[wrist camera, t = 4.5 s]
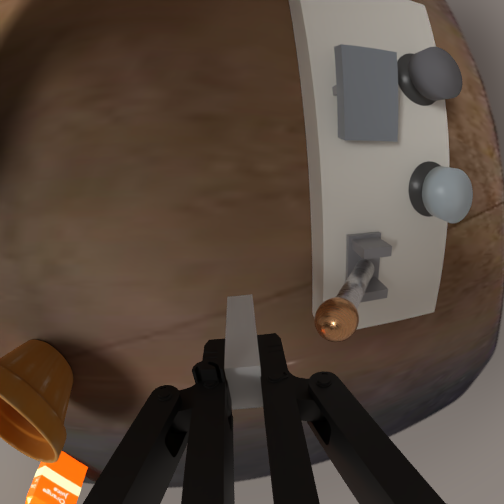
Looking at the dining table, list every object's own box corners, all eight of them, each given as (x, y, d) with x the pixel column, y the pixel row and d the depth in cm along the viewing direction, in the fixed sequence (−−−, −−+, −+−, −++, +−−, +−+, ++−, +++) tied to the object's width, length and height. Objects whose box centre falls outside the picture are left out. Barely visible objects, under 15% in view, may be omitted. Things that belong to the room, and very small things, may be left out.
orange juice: (54, 445, 39) (25, 515, 20) (88, 467, 41) (67, 537, 22) (45, 451, 40) (19, 514, 21) (76, 471, 42) (56, 535, 24)
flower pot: (45, 307, 28) (-14, 371, 16) (110, 392, 33) (80, 466, 20) (-1, 335, 29) (-46, 385, 17) (54, 403, 34) (24, 460, 22)
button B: (421, 218, 21) (434, 224, 19) (421, 165, 20) (436, 167, 18) (456, 216, 21) (470, 221, 19) (458, 167, 20) (473, 169, 18)
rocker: (337, 137, 20) (344, 140, 18) (333, 46, 16) (340, 44, 15) (388, 138, 20) (397, 141, 19) (387, 53, 16) (396, 52, 15)
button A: (412, 96, 18) (426, 93, 16) (404, 47, 16) (416, 41, 14) (450, 104, 18) (465, 102, 16) (443, 58, 16) (457, 53, 14)
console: (312, 313, 30) (330, 354, 23) (288, 0, 19) (303, -38, 13) (416, 295, 30) (449, 326, 23) (405, 17, 20) (440, -5, 13)
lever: (351, 277, 24) (307, 345, 16) (352, 248, 23) (307, 307, 15) (380, 281, 23) (350, 354, 15) (382, 252, 22) (354, 315, 14)
